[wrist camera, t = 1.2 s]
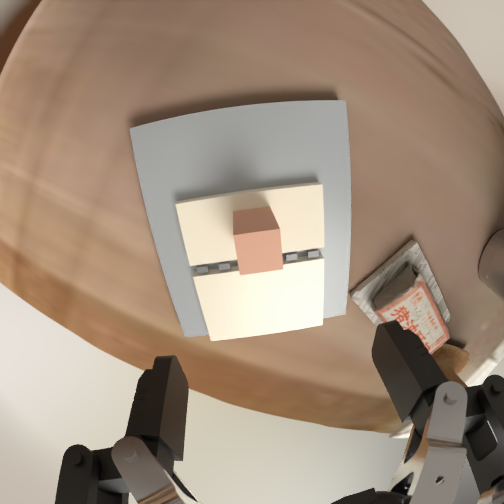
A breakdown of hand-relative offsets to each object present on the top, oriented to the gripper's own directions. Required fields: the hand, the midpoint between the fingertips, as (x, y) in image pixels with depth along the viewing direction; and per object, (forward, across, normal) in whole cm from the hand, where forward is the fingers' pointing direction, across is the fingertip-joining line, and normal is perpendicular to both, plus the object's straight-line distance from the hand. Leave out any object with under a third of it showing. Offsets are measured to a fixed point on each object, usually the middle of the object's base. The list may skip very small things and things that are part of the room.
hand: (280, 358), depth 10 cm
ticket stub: (+15, 0, 0) cm, 15 cm away
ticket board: (+17, 0, +2) cm, 17 cm away
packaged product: (+17, -19, +15) cm, 30 cm away
